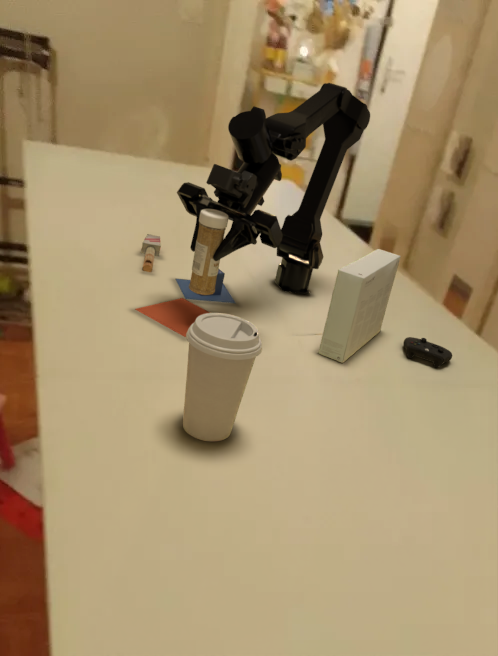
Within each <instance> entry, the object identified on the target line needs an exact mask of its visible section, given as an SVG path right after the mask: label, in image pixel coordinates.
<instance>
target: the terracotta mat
mask: <svg viewBox="0 0 498 656" xmlns="http://www.w3.org/2000/svg"><path fill="white" fill-rule="evenodd" d="M134 310H136V312H139V313H141V314H143V315H144V316H146V317H148V318H150V319H151V320H153V321H155V322H157V323H159V324H161V325H162V326H164V327H166V328H168V329H169V330H171V331H173V332H174V333H176V334H178V335H180V336H182V337H184V338H186V333H187V331H188V329H189V327H190V326H191V325H192V324H193V323H194V322H195V320H196V318H197V317H198V316H200V315H202V314H206V313H211V312H210V311H209V310H206V309H204V308H203V307H201V306H199V305H197V304H195V303H193V302H191V301H189V300H188V299H185V298H183V297H181V298H175V299H171V300H168V301H163V302H158V303H154V304H150V305H145V306H142V307H137V308H134Z"/></svg>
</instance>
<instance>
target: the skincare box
mask: <svg viewBox="0 0 498 656" xmlns="http://www.w3.org/2000/svg"><path fill="white" fill-rule="evenodd" d="M401 257H402V256H401V255H400V254H396V253H393V252H390V251H386V250H384V249H380V248H377V249H375V250H373V251H371V252H369V253H367V254H365V255H363V256H361V257H360V258H358V259H356V260H354V261H352V262H350V263H348V264H346V265H344V266H342V267H341V268H339V269H337V272H336V273H337V274H336V277H335V281H334V285H333V286H334V287H333V290H332V294H331V299H330V303H329V307H328V312H327V316H326V320H325V324H324V329H323V332H322V336H321V341H320V345H319V349H318V354H319V355H321V356H324V357H327V358H329V359H330V360H331V359H332V360H334V361H337V362H339V363H341V364H343V363H345V362H346V361H347V360H348V359H349V358H350V357H352V356H353V355H354V354H355V353H356V352H357V351H359V350H360V349H361V348H363V347H364V345H367V343H369V341H371V340H372V339H373V338H374V337H375V336H376V335H378V334H379V333H380V332H381V329H382V326H383V323H384V318H385V315H386V311H387V308H388V303H389V300H390V297H391V293H392V289H393V286H394V282H395V279H396V276H397V275H396V274H397V272H398V267H399V265H400V261H401Z"/></svg>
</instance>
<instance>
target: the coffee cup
mask: <svg viewBox="0 0 498 656" xmlns="http://www.w3.org/2000/svg"><path fill="white" fill-rule="evenodd" d="M185 338H186V340H187V342H188V353H187V367H186V379H185V382H186V383H185V392H184V403H183V415H182V428H183V430H184V431H185V433H187V434H188V435H189V436H191V437H192V438H195V439H197V440H200V441H205V442H221V441H224V440H226V439H227V438H229V437H230V435H231V433H232V430H233V428H234V425H235V422H236V418H237V415H238V412H239V410H240V406H241V403H242V400H243V397H244V393H245V391H246V388H247V385H248V381H249V379H250V376H251V372H252V370H253V366H254V363H255V360H256V358H257V357H258V356H259V355H260V354H261V353H262V351H263V343H262V339H261V337H260V332H259V329H258V327H257V326H256V325H255V324H254V323H252V322H251V321H249V320H247V319H245V318H243V317H240V316H238V315H234V314H229V313H224V312H210V313H206V314H202V315H200V316H198V317H197V318H196V320H195V322H194V323H193V324H192V325H191V326H190V327H189V329H188V331H187V333H186V337H185Z"/></svg>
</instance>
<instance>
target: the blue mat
mask: <svg viewBox="0 0 498 656" xmlns="http://www.w3.org/2000/svg"><path fill="white" fill-rule="evenodd" d="M175 281H176V283H177V285H178V288H179V289H180V292H181V293H182V295H183V297H184V299H185V300H192V301H203V302H214V303H223V304H224V303H226V304H237V303H236V300H235V299H234V297H233V296H232V294H231V292H230V291H229V290H228V288H227V287H226V285H225V284H224V283H223V285H222V291H221V295H199V294H197V293H195V292H193V291H191V290H190V289H189V284H190V281H191V279H185V278H184V279H183V278H175Z"/></svg>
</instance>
